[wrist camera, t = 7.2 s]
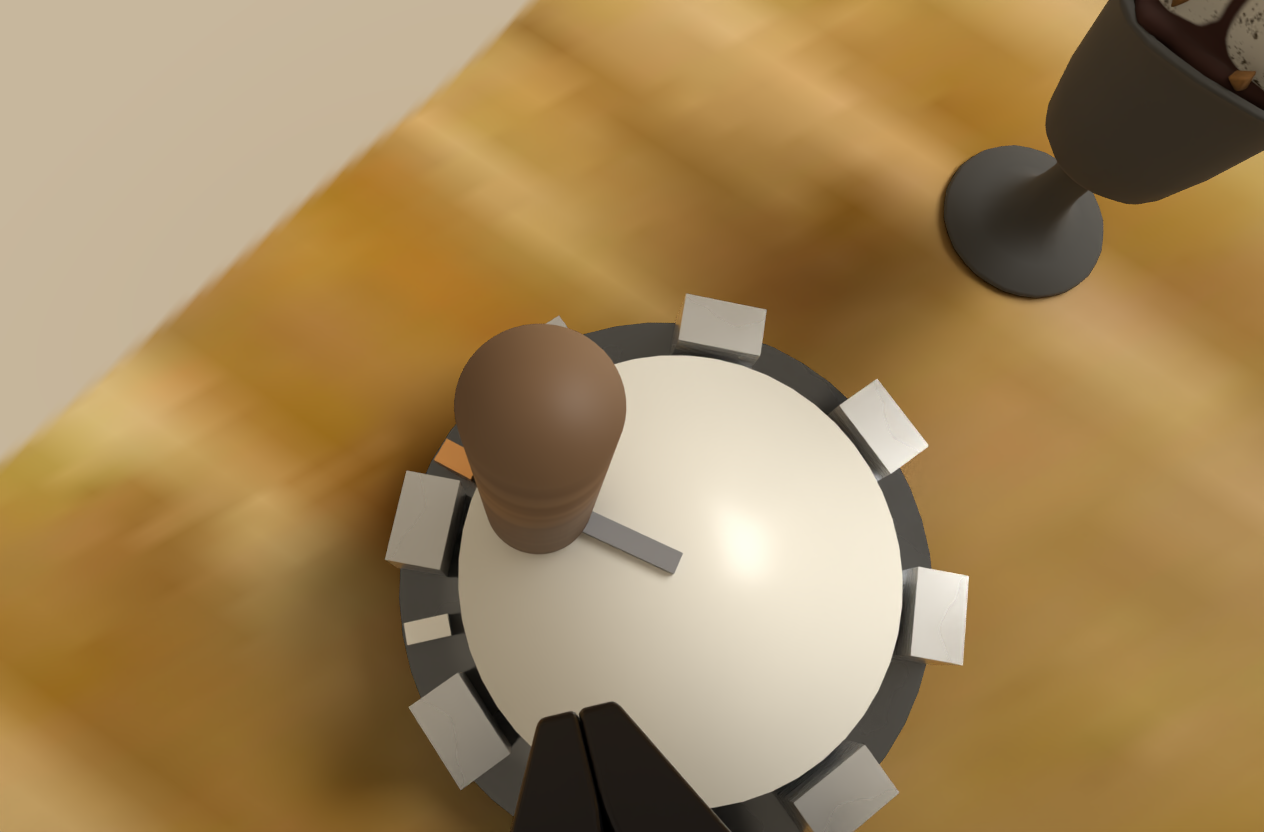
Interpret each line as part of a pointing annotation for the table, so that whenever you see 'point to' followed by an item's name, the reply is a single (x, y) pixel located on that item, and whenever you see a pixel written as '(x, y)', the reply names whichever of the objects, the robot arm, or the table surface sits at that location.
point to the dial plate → (485, 740)
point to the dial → (672, 556)
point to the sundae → (1114, 139)
